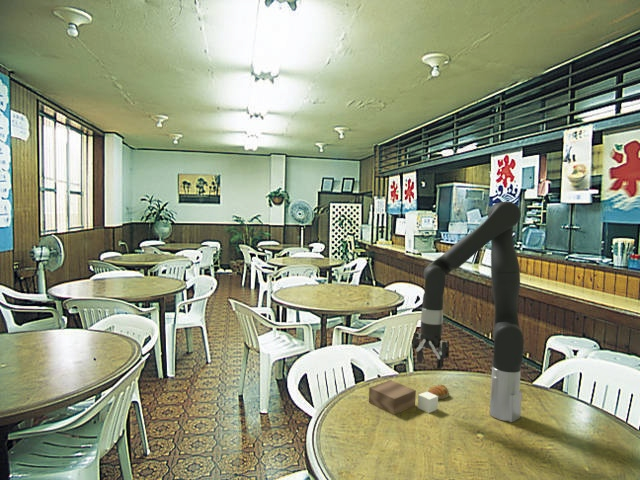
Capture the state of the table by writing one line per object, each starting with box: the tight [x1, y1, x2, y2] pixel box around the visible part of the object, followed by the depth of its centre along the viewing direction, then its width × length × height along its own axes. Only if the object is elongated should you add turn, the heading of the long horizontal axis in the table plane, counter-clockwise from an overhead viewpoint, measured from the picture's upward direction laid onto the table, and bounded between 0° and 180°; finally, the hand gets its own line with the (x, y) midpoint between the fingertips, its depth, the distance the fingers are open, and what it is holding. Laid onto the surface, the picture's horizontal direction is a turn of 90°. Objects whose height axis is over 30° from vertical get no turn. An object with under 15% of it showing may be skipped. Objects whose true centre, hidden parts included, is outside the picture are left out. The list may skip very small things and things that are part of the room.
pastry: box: [427, 384, 450, 400], centre depth 167 cm, size 9×7×4 cm
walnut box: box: [368, 379, 417, 416], centre depth 159 cm, size 12×12×6 cm
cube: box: [417, 391, 439, 414], centre depth 156 cm, size 5×5×5 cm
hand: (429, 365), depth 156 cm, fingers open, 8 cm apart
